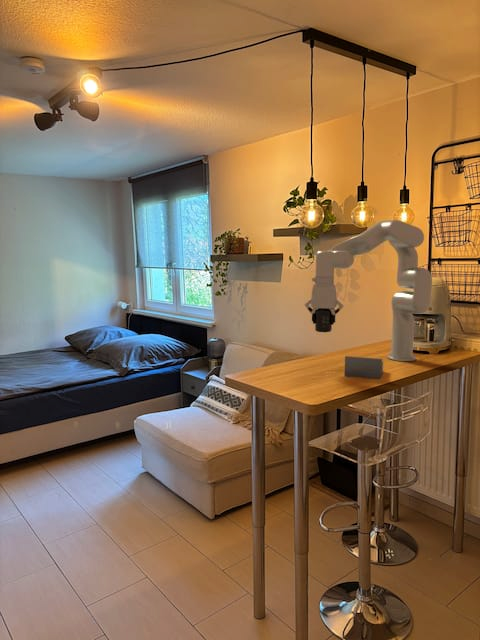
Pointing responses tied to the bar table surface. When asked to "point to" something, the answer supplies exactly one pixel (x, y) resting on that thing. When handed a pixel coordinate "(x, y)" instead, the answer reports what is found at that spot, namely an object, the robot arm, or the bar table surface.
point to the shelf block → (363, 367)
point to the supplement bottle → (323, 320)
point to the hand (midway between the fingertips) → (323, 323)
